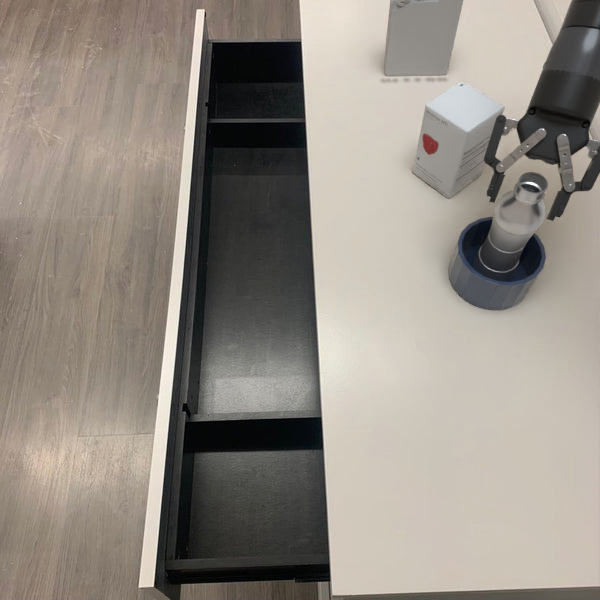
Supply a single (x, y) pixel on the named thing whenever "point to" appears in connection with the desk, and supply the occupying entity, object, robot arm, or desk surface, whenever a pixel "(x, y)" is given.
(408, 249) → the desk surface
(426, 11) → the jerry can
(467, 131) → the white product box
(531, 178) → the silver bottle
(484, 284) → the bowl
